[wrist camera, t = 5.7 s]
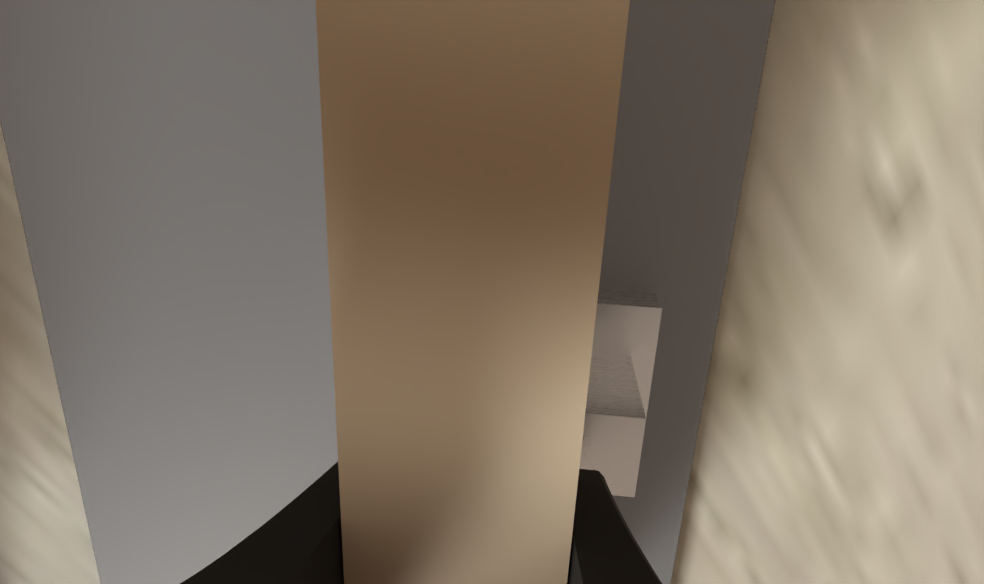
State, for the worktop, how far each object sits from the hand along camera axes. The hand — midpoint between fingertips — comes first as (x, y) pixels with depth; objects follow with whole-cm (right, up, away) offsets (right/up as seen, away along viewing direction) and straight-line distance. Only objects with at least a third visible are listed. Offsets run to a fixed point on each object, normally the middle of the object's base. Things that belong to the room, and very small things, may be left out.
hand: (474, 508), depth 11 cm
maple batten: (0, +1, +2) cm, 2 cm away
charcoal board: (-4, +3, +6) cm, 8 cm away
